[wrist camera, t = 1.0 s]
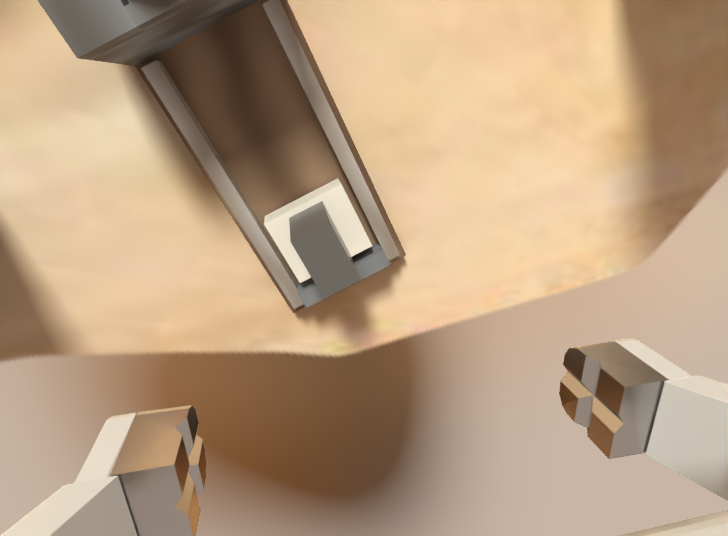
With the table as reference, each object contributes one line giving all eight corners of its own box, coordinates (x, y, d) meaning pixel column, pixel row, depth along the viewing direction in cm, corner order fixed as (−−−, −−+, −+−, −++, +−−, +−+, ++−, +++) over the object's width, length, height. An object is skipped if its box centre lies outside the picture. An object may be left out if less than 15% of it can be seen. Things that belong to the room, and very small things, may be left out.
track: (230, -127, 30) (203, -241, 19) (404, 248, 43) (444, 300, 32) (72, -43, 30) (-39, -110, 20) (292, 305, 43) (296, 376, 33)
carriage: (337, 178, 37) (352, 202, 30) (367, 237, 40) (388, 273, 32) (264, 215, 37) (260, 249, 30) (298, 272, 40) (303, 316, 32)
